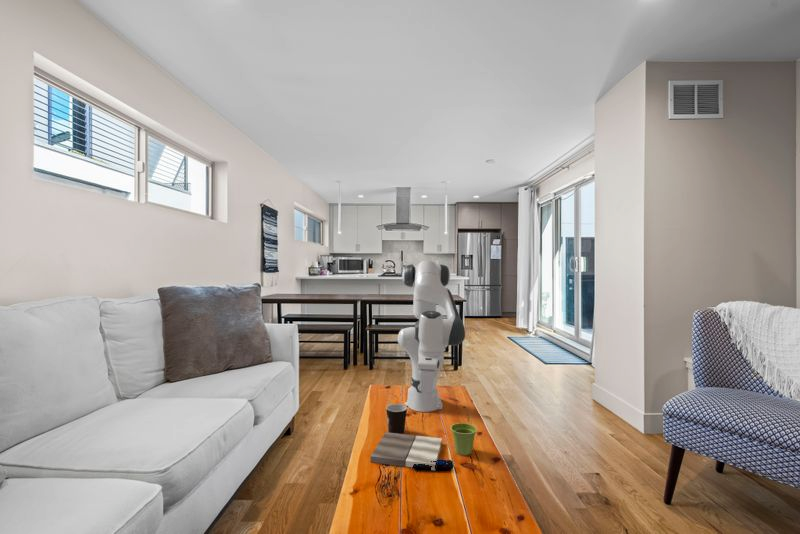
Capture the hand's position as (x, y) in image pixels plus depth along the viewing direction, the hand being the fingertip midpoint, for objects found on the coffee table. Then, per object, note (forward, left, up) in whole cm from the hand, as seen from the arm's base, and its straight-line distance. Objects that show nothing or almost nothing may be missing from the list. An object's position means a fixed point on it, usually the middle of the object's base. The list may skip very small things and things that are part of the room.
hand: (430, 398), depth 128 cm
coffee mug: (-22, -17, -22) cm, 35 cm away
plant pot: (-10, +11, -22) cm, 27 cm away
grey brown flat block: (-5, -14, -22) cm, 26 cm away
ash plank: (-5, -3, -22) cm, 23 cm away
